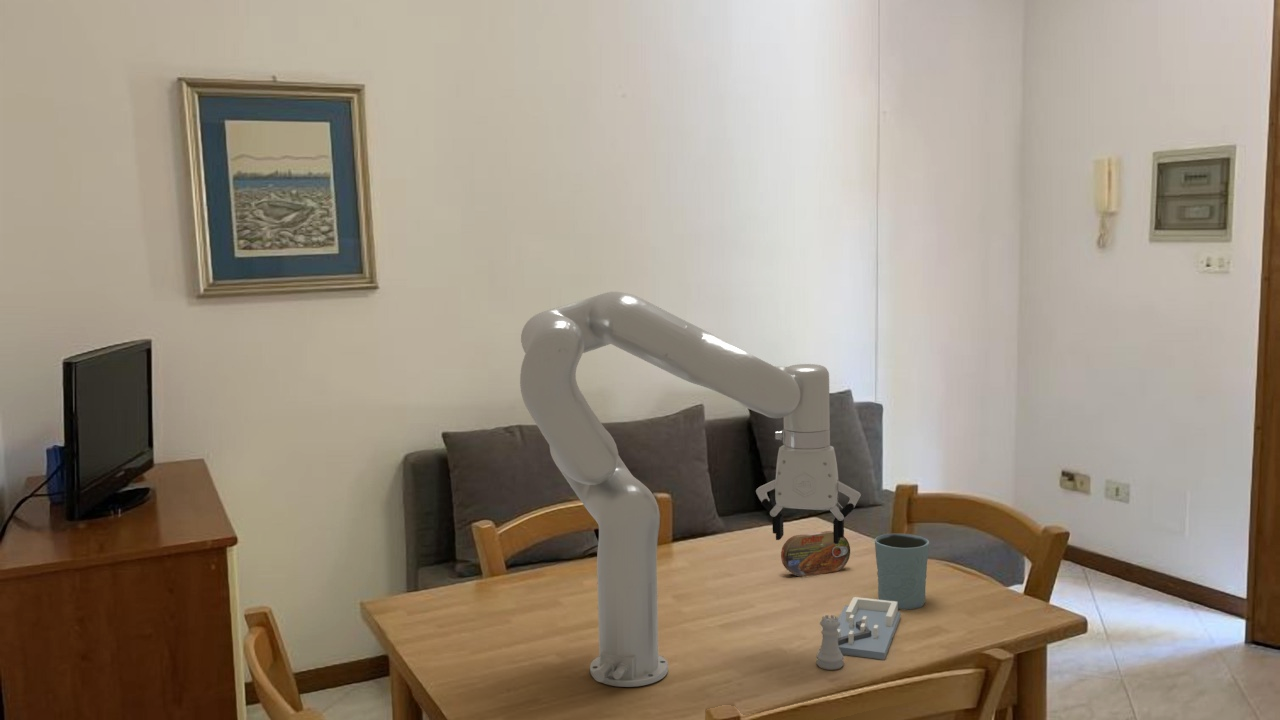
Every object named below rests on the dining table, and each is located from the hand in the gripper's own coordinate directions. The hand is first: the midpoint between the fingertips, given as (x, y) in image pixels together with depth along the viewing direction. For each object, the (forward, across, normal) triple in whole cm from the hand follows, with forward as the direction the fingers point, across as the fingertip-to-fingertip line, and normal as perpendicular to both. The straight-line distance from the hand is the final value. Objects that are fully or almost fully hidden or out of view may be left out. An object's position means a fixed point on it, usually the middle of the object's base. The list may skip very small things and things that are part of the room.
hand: (808, 539), depth 172 cm
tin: (+20, -6, +40) cm, 45 cm away
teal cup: (+20, +13, +28) cm, 36 cm away
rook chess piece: (+19, +4, -6) cm, 21 cm away
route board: (+19, +8, +9) cm, 22 cm away
